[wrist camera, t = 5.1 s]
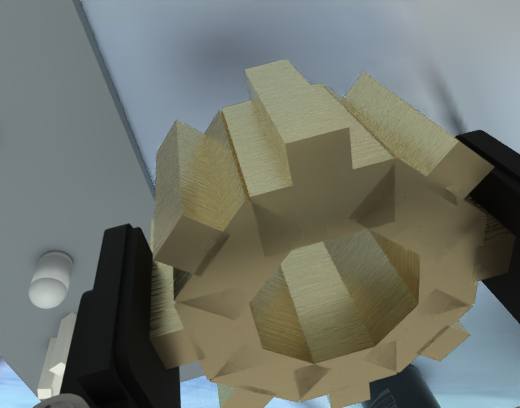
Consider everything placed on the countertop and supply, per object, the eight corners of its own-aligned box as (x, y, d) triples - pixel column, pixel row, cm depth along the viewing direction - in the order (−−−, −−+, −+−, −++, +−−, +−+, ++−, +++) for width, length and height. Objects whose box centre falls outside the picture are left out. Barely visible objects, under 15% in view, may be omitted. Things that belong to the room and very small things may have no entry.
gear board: (64, -38, 19) (31, -25, 14) (221, 354, 37) (230, 423, 32) (-251, 36, 19) (-401, 77, 14) (60, 401, 36) (43, 478, 31)
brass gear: (421, 24, 10) (552, 73, 7) (415, 261, 14) (492, 363, 11) (102, 105, 9) (69, 200, 6) (195, 322, 14) (204, 447, 10)
